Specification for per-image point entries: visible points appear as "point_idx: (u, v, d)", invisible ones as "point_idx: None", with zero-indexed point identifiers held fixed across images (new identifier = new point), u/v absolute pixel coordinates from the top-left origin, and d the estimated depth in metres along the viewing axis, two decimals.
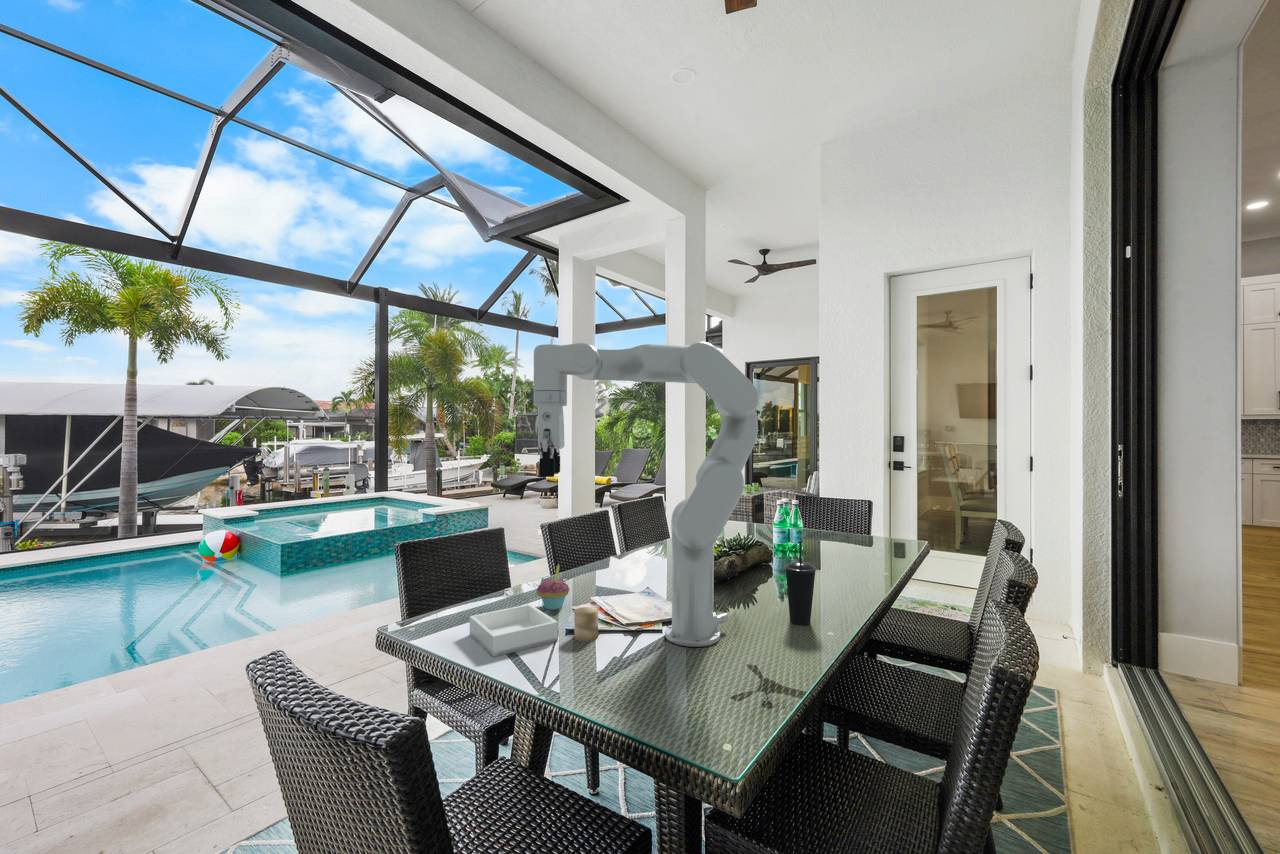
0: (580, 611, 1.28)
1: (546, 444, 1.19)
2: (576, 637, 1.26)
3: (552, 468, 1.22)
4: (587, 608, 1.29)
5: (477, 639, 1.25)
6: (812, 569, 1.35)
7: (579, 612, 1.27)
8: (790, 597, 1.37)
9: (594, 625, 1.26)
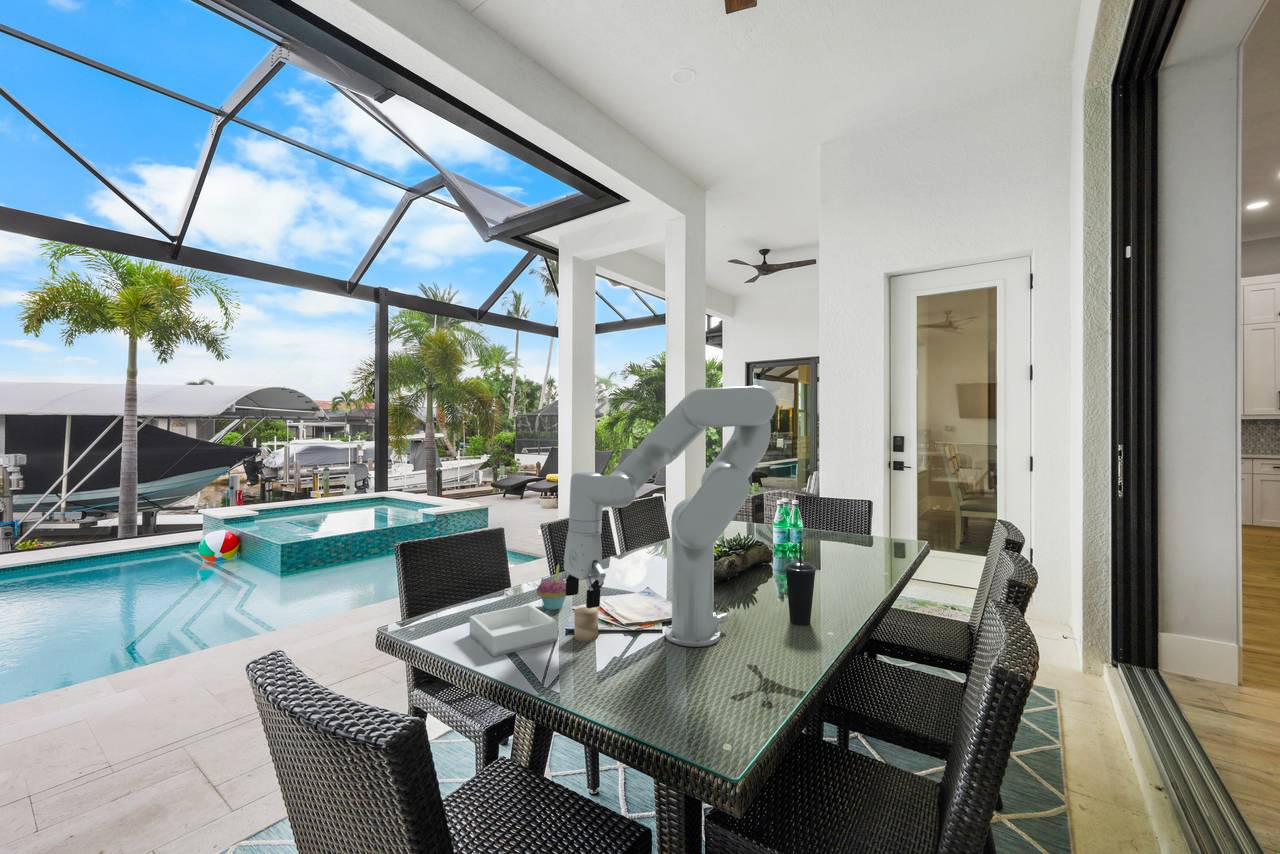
0: (580, 611, 1.27)
1: None
2: (576, 637, 1.26)
3: None
4: (587, 608, 1.29)
5: (477, 639, 1.25)
6: (812, 569, 1.35)
7: (579, 612, 1.27)
8: (790, 597, 1.37)
9: (594, 625, 1.26)
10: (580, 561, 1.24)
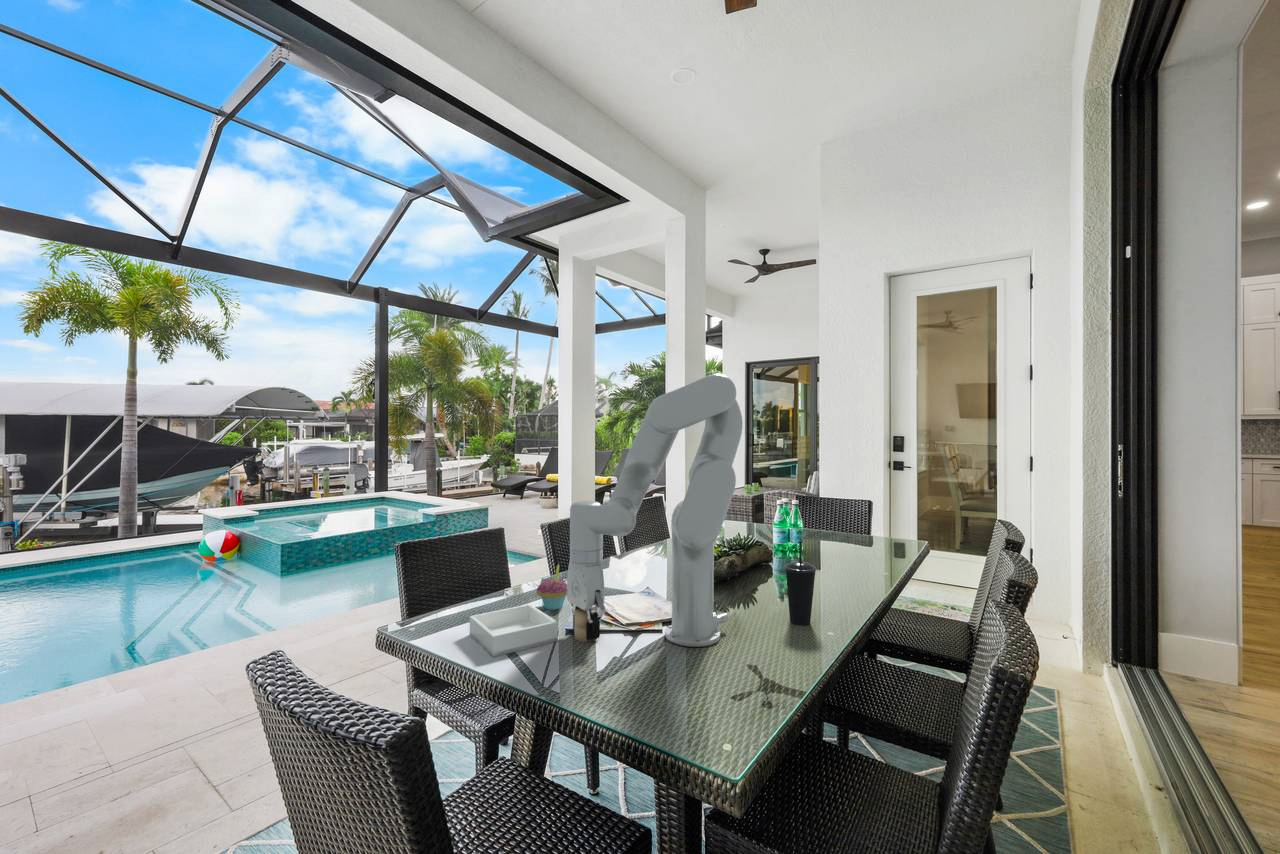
0: (580, 611, 1.27)
1: None
2: (576, 637, 1.26)
3: None
4: None
5: (477, 639, 1.25)
6: (812, 569, 1.35)
7: (579, 612, 1.27)
8: (790, 597, 1.37)
9: None
10: (583, 591, 1.24)
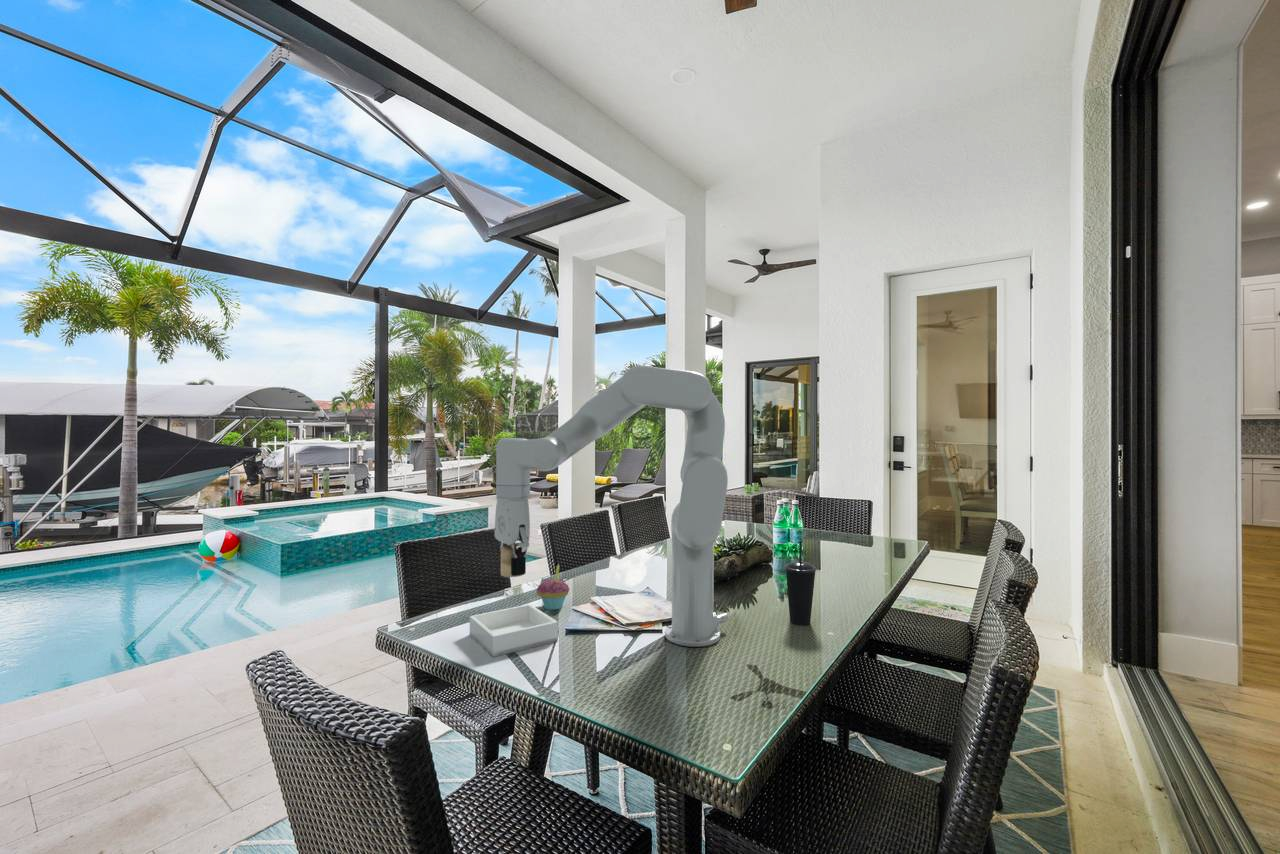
0: (506, 548, 1.27)
1: None
2: (502, 573, 1.25)
3: None
4: None
5: (477, 639, 1.25)
6: (812, 569, 1.35)
7: (505, 548, 1.26)
8: (790, 597, 1.37)
9: None
10: (507, 526, 1.23)
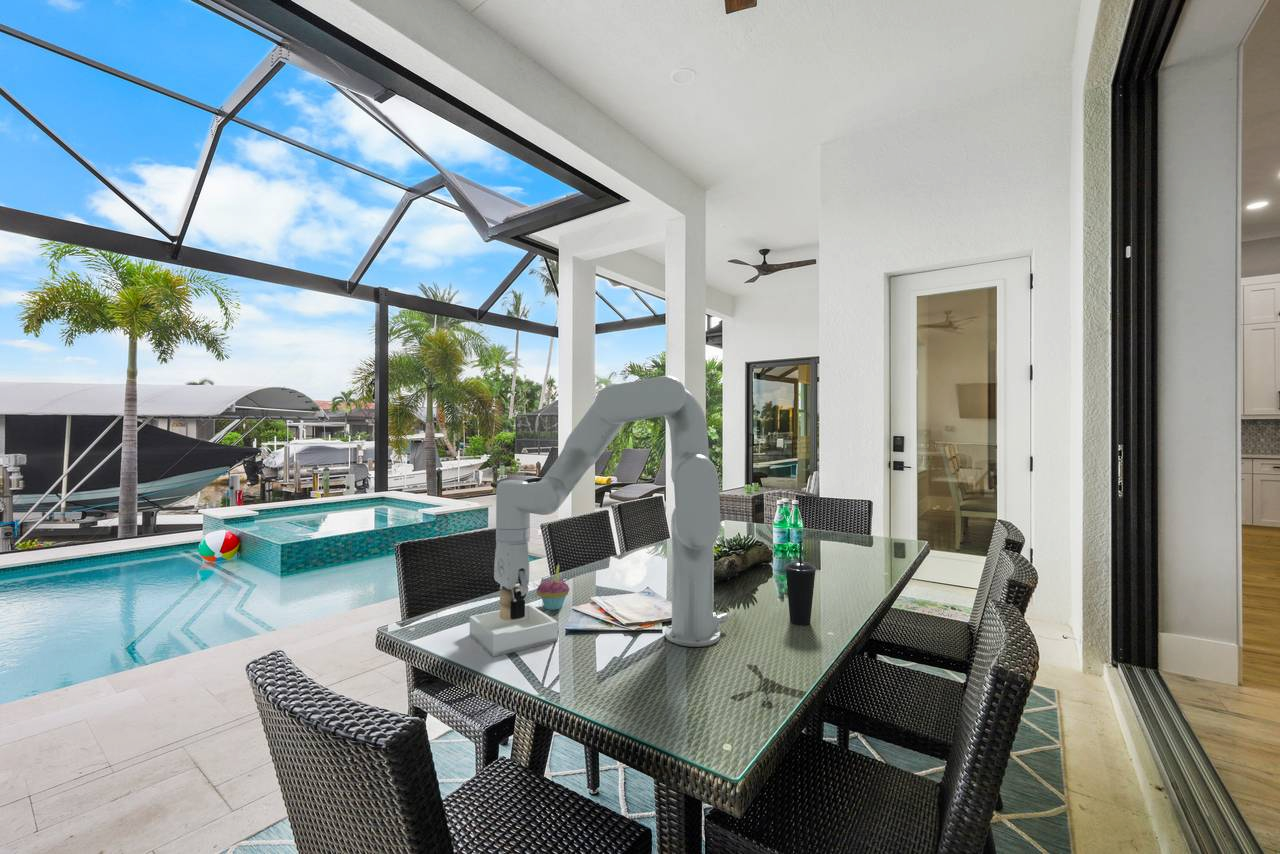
0: (506, 590, 1.27)
1: None
2: (501, 616, 1.25)
3: None
4: None
5: (477, 639, 1.25)
6: (812, 569, 1.35)
7: (504, 591, 1.26)
8: (790, 597, 1.37)
9: None
10: (506, 570, 1.23)
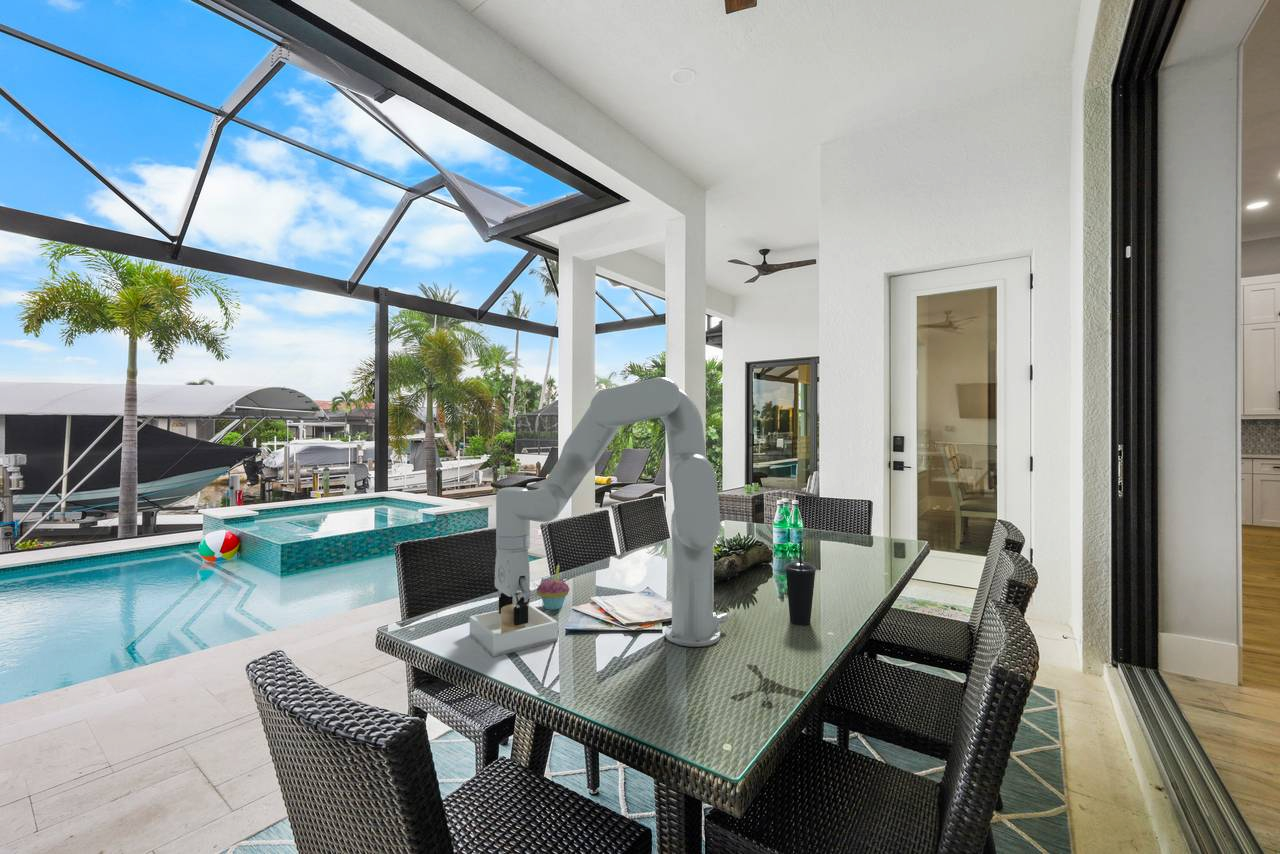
0: (507, 608, 1.27)
1: None
2: None
3: None
4: (515, 606, 1.29)
5: (477, 639, 1.25)
6: (812, 569, 1.35)
7: (505, 610, 1.26)
8: (790, 597, 1.37)
9: None
10: (507, 577, 1.23)
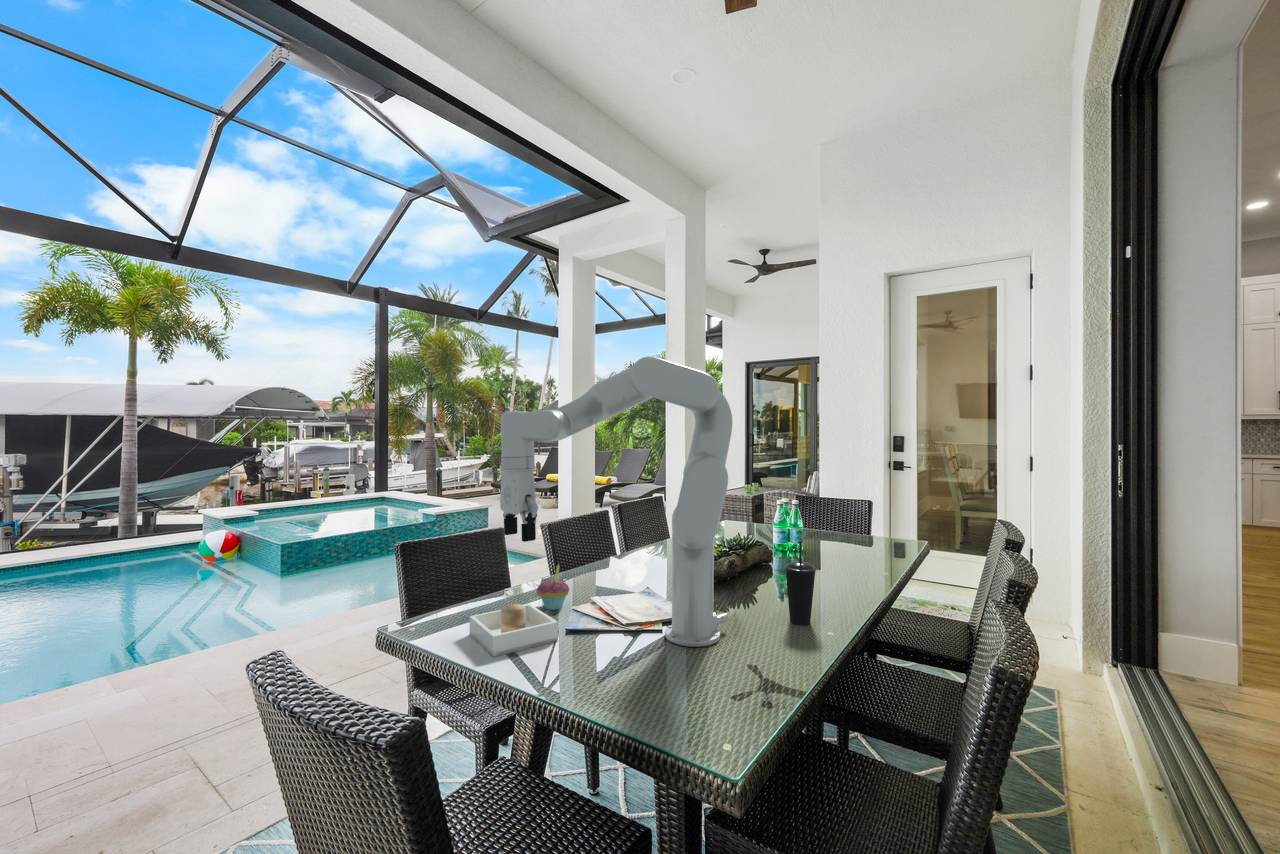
0: (507, 608, 1.27)
1: None
2: None
3: None
4: (515, 606, 1.29)
5: (477, 639, 1.25)
6: (812, 569, 1.35)
7: (505, 609, 1.26)
8: (790, 597, 1.37)
9: (520, 622, 1.25)
10: (513, 496, 1.26)
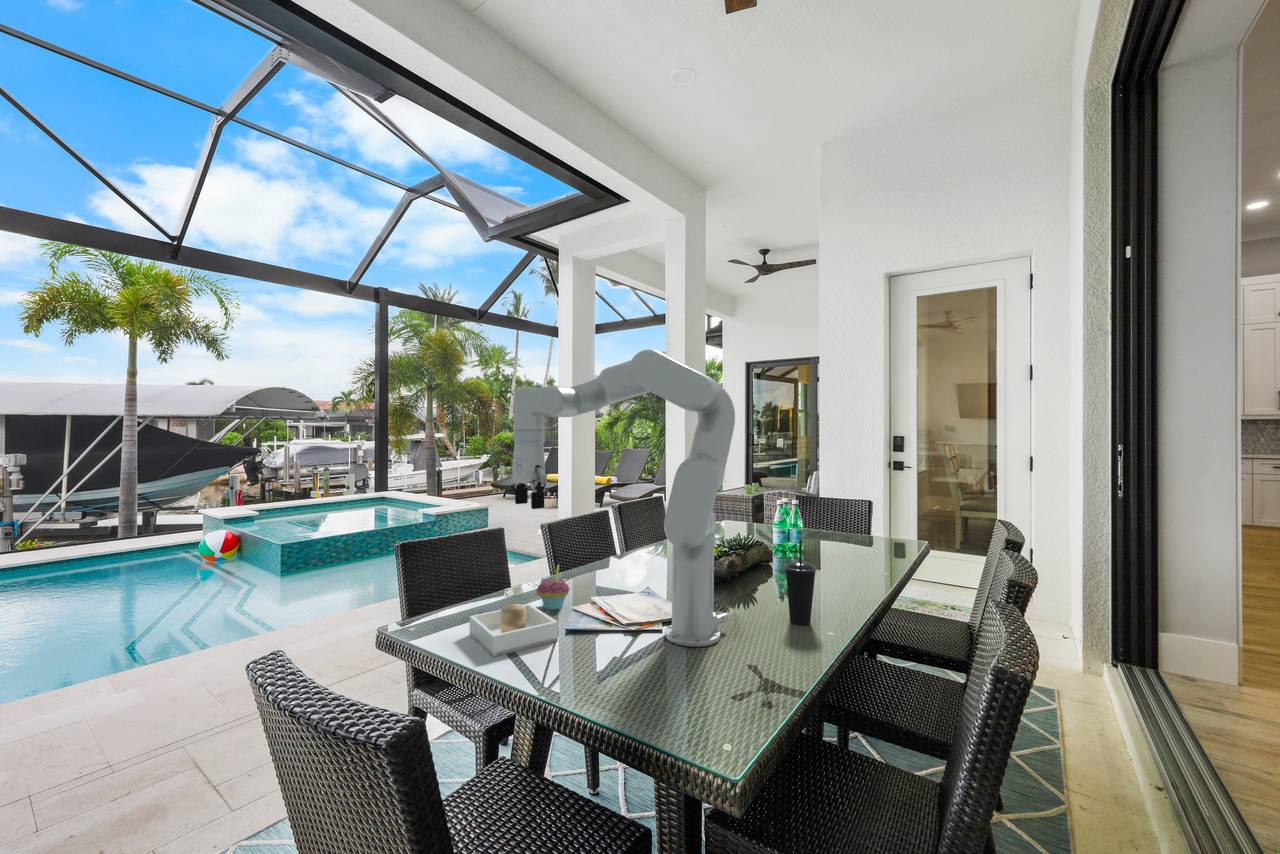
0: (507, 608, 1.27)
1: None
2: None
3: None
4: (516, 605, 1.29)
5: (477, 639, 1.25)
6: (812, 569, 1.35)
7: (505, 609, 1.26)
8: (790, 597, 1.37)
9: (520, 622, 1.25)
10: (524, 466, 1.35)
